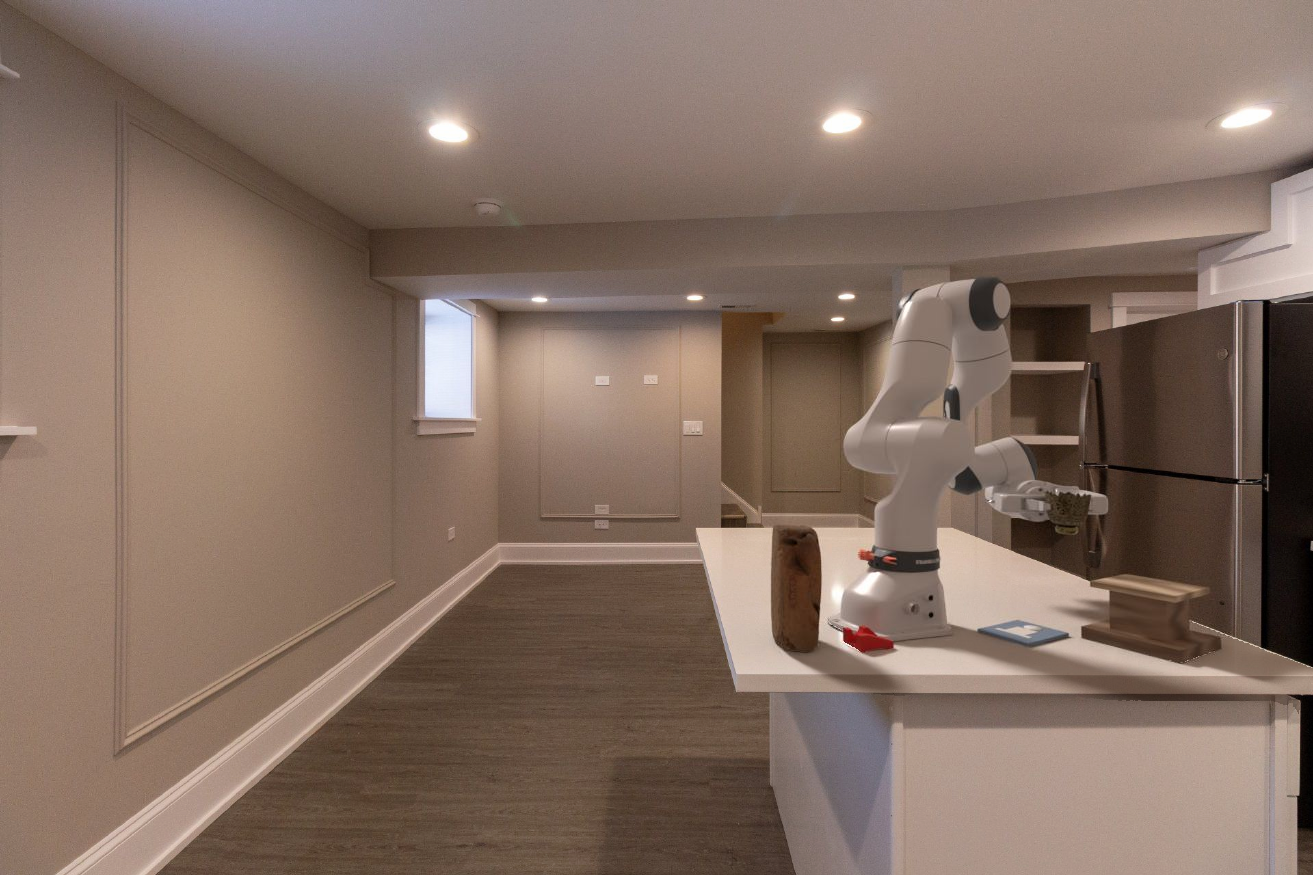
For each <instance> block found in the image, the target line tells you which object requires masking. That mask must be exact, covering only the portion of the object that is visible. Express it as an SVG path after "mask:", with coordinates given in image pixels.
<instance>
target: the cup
mask: <svg viewBox="0 0 1313 875" xmlns="http://www.w3.org/2000/svg"><path fill="white" fill-rule="evenodd" d="M1045 499H1046V501H1047V502H1050V503H1051V506H1050V507H1051V511H1047V514H1048V517H1049V520H1050V522H1051V523H1053V524H1055V527H1054V529H1055V532H1056V533H1058V534H1062V535H1077V534H1078V532H1079V528H1078V527H1079V526H1082V525H1083V524H1085V522H1086V520H1087V518H1088V515H1089V514H1088V511H1089V506H1090V500H1091V495H1089V494H1088V495H1086V494H1084V495H1083V496H1080V494H1079V493H1078V494H1077V495H1075V494H1072V493H1071V492H1067V493H1065V494H1064V493H1062V492H1059V495H1056V494H1055V493H1053V494H1052V492H1050V493H1049V492H1048V491H1046V492H1045Z"/></svg>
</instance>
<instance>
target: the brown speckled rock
mask: <svg viewBox="0 0 1313 875" xmlns="http://www.w3.org/2000/svg"><path fill="white" fill-rule="evenodd" d="M771 532H772V534H771V535H772V537H771V555H770V556H771V562H770V567H771V568H770V619H771V620H770V621H771V634H772V638H773V640H774V642H775V643H776V644H777V643H778V645H779V644H780V646H781V647H782V648H784V649H785V650H787V649H788V651H792V652H798V653H799V652H800V653H805V652H806V653H807V652H808V653H809V652H812V651H814V650H816V649H817V647H818V645H819V641H820V640H819V638H820V637H819V636H820V618H821V617H820V615H821V603H822V584H823V583H822V582H823V581H822V577H823V575H822V556H821V549H820V548H821V547H820V542H819V536H818V533H817V531H816V530H815V529H814V528H812V527H811V526H808V525H796V524H795V525H791V524H774V525H773V527H772V531H771Z"/></svg>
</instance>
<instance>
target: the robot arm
mask: <svg viewBox="0 0 1313 875" xmlns="http://www.w3.org/2000/svg"><path fill="white" fill-rule="evenodd" d="M1008 287H1009V286H1008V285H1007V284H1006V283H1005V282H1004V281H1003V280H1002V279H1000V278H999V277H997V276H979V277H976V278H973V279H972V278H970V279H962V280H955V281H944V282H941V283H937V284H934V285H930V286H927V287H925V288H916V289H913V290H912V291H908V293H906V294H905V295H903V296H902V298H901V299H900V301H899V302H898V304H897V307H896V312H895V313H896V314H895V315H896V316H895V317H896V324H895V328H894V331H893V335H892V338H891V343H890V348H889V356H888V360H887V365H886V369H885V375H884V379H883V383H882V385H881V387H880V391H879V392H878V395H877V397H876V399H875V400H874V401H873V403H872V404H871V406H870V408H869V409H868V410H867V412H866V413H865V414H864V415H863V416H862V417H861V419H860V420H858V421H857V422H856V423H855V424H853V425H852V426H850V428H848V430H847V432H846V434H845V435H844V439H843V453H844V456H845V458H846V460H847V463H848V464H850V465H851V466H852V467H853V468H855V469H858V470H861V471H865V472H868V473H873V474H882V475H883V474H885V475H897V479H896V483H895V486H894V488H893V490H892V492H891V493H890V494H889V495H886V496H885V497H883V498H881V499H880V500H878V502H877V503H876V505H875V508H874V544H873V546H872V547H871V550H866V549H862V548H861V549H859V552H858V554H857V558H858V559H859V560H860V561H865V562H867V565H868V566H867V567H866V568H865V569H864V570H863V571H862V572H861V574H859V575H858V577H857V578H856V579H855V580H853V582H851V583H850V584H849V585H848V586H847V587H846V589H844V590H843V593H842V596H841V602H840V613H836V614H833V615H830V616H828V617H827V622H828V621H829V622H830V623H831V624H832V625H833V626H836V627H837V628H840V629H841V630H843V628H845V627H848V628H850V629H852V632H853V634H855V633H856V632H857V631H858V629H859V626H863V625H864V626H866V627H868V628H869V629H870V630H872V631H873V632H874V633H875V634H876V635H877V636H878V637H882V638H885V639H889V640H891V641H893V642H897V641H905V640H913V639H924V638H933V637H940V636H941V637H943V636H950V635H952V634H953V630H952V627H951V626H950V625H949V624H948V619H947V618H948V617H947V608H946V600H945V590H944V586H943V584H942V582H941V579H940V576H939V572H938V571H939V569H940V568H941V556H940V549H939V548H938V520H939V518H938V517H939V509H940V504H941V501H942V498H943V496H944V494H945V492H946V490H947V488H948V489H949V488H950V489H951V490H953V491H954V492H956V493H958V494H961V495H965V496H970V495H973V494H975V493H979V492H981V491H982V490H984V498H985V502H986V503H988V504H989V505H990V507H992V508H993V509H994V510H995V511H996V512H999V513H1001V514H1004V515H1006V516H1010V517H1016V518H1019V519H1022V520H1026V521H1030V522H1034V523H1035V522H1036V523H1037V522H1045V521H1048V520H1050V519H1049V517H1048V514H1047V511H1051V507H1050V506H1051V503H1050V502H1047V501H1046V499H1045V492H1046V491H1048V492H1049V493H1050V492H1052V494H1053V493H1055V494H1056V495H1059V492H1062V493H1064V494H1065V493H1067V492H1071V493H1072V494H1075V495H1077V494H1078V493H1079V494H1080V496H1083V495H1084V494H1086V495H1088V494H1089V495H1091V500H1090V506H1089V511H1088V515H1105V514H1107V513H1108V512H1109V499H1108V496H1106V495H1105V494H1101V493H1099V492H1098V493H1097V492H1094V491H1089V490H1084V489H1080V487H1079V486H1075V485H1073V486H1072V485H1066V484H1065V485H1064V484H1063V485H1062V484H1056V483H1051V482H1048V481H1043V480H1038V479H1037V478H1038V470H1039V469H1038V464H1037V460H1036V458H1035V455H1034V452H1033V450H1031V449H1030V447H1029V446H1028V445H1027V444H1025V443H1024V442H1022V441H1020V440H1019V439H1017V438H1015V437H1011V436H1007V437H1004V438H1000V439H997V440H993V441H990V442H988V443H984V444H981V445H978V446H976V441H975V438H974V435H973V433H972V431H971V429H970V427H969V426H968V421H969V417H970V415H971V414H972V412H973V411H974V410H975V408H976V407H978V405H980V404H981V403H982V402H983V401H985V400H986V399H988V398H989V397H990V396H993V394H995V393H996V392H997V391H999V390H1000V389H1002V387H1003V386H1004V385H1005V384H1006V382H1007V381H1008V379H1009V378H1010V376H1011V374H1012V369H1013V361H1012V359H1013V358H1012V354H1011V349H1010V344H1009V339H1008V336H1007V333H1006V329H1005V326H1004V323H1005V322H1006V321H1007V319H1008V317H1009V315H1010V313H1011V308H1012V297H1011V293H1010V292H1011V291H1010V289H1009V288H1008ZM951 355H952V360H953V374H952V378H951V380H950V382H949V383H950V384H948V386H947V381H948V375H949V369H950V362H951ZM942 395H943V400H942V411H943V412H942V414H943V415H942V416H934V415H932V416H920V415H921V413H922V412H923V411H924V410H925V409H926V408H927V407H928V406H929V405H930V404H932V403H933V402H935V401H936V400H938V399H939V398H941V396H942ZM833 626H832V627H833ZM841 630H840V631H841Z"/></svg>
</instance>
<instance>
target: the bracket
mask: <svg viewBox="0 0 1313 875" xmlns="http://www.w3.org/2000/svg"><path fill="white" fill-rule="evenodd" d="M843 641H844V642H845V643H847V644H849V645H851V646H852V647H855V648H856V649H858V650H859V651H860V652H862V653H867V652H866V651H868V652H869V651H875V650H876V651H877V650H883V649H885V648H886V650H893V649H892V648H895V646H894V645H895V644H894V642H895V641H891V640H889V639H885V638H882V637H878V636H877V635H876V634H875V633H874V632H873V631H872V630H870V629H869V628H868V627H866V626H864V625H863V626H859V629H858V631H857V632H856V633H855V634H853V632H852V629H850V628H848V627H845V628H843V631H842V642H843ZM859 651H858V652H859ZM860 652H859V653H860Z"/></svg>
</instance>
